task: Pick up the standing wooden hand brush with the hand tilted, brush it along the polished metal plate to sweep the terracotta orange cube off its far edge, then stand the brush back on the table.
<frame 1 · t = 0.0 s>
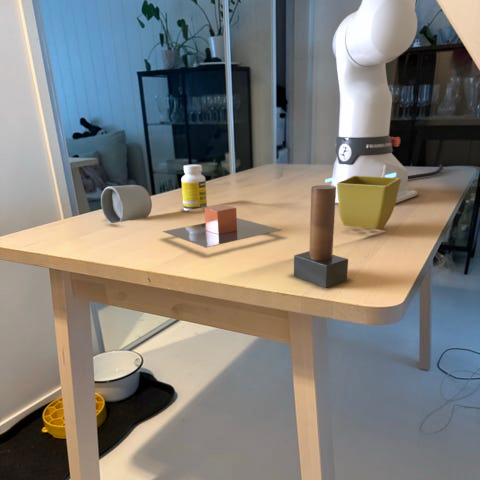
hand brush: (319, 278, 62), on the table
supplement bottle: (195, 210, 106), on the table
ceramic mug: (124, 222, 97), on the table
flower pot: (365, 232, 83), on the table
terracotta orange cube: (221, 230, 81), point 1 cm above the table, touching polished metal plate
polished metal plate: (221, 238, 82), on the table
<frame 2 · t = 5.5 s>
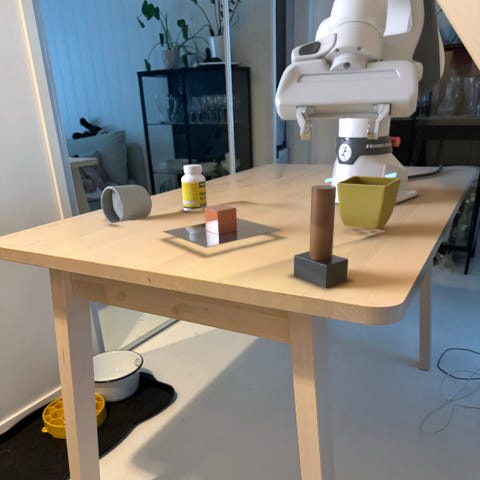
hand: (338, 136, 65), 17 cm above the table, tool tilted 45°, fingers open, 8 cm apart
nothing on the table moved.
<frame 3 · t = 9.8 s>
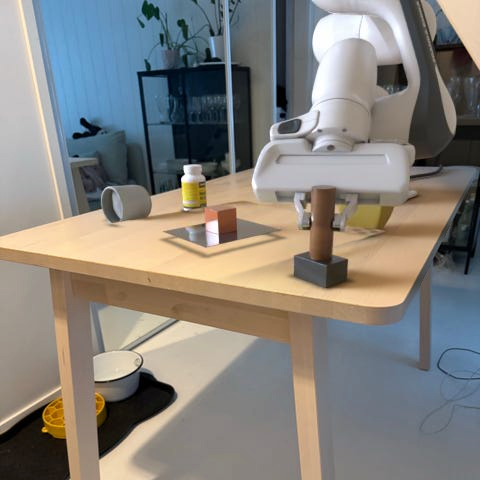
hand: (320, 228, 58), 7 cm above the table, tool tilted 45°, fingers closed on hand brush, 3 cm apart
hand brush: (319, 278, 62), on the table, touching gripper
everything else where it was.
when the fingers open (7 cm above the table, at t = 28.5 s): hand brush stays where it is, on the table.
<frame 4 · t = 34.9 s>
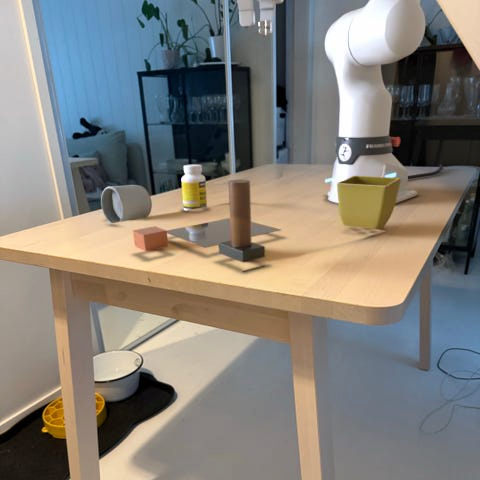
hand: (257, 31, 66), 31 cm above the table, tool pointing down, fingers open, 8 cm apart
hand brush: (241, 264, 68), on the table
terracotta orange cube: (162, 240, 75), point 2 cm above the table, tilted 90°
everything else where it was.
at the end: terracotta orange cube point 2.0 cm above the table; terracotta orange cube inside the target area on the table beside the polished metal plate (3.9 cm from its centre), point 2.0 cm above the table; hand brush tilted 0° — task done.
